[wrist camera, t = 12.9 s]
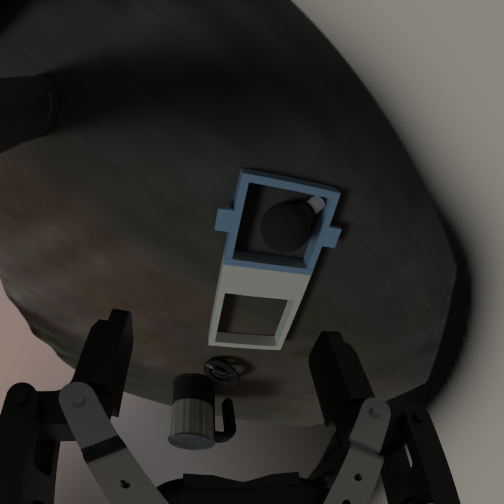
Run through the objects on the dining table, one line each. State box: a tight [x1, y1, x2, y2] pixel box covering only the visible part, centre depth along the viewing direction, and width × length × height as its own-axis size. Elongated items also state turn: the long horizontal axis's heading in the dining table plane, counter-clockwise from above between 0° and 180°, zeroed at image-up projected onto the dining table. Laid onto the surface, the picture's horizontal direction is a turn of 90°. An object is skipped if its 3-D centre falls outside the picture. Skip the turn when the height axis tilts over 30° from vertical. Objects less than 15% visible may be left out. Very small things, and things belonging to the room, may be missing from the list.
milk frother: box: [168, 359, 240, 450], centre depth 51 cm, size 14×16×15 cm
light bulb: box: [260, 195, 325, 253], centre depth 38 cm, size 6×6×10 cm
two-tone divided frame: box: [208, 168, 342, 350], centre depth 43 cm, size 17×30×3 cm, turn 168°
